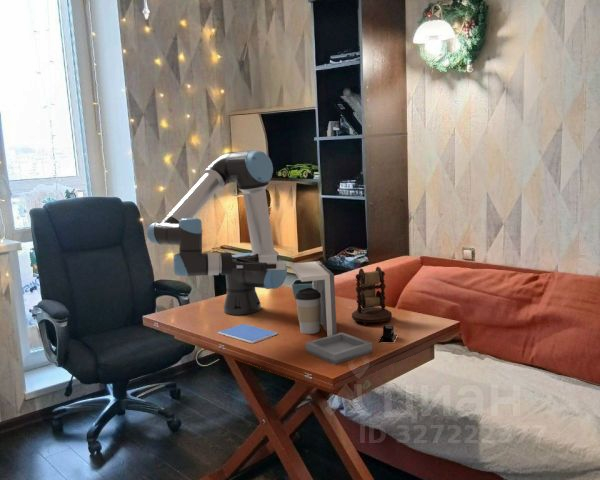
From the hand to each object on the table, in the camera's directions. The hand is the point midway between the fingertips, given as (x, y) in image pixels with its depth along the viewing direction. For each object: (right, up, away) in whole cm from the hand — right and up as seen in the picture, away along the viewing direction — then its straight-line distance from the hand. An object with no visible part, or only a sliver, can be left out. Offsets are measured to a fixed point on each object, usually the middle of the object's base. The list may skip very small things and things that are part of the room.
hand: (280, 262), depth 205 cm
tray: (+19, -28, -19) cm, 39 cm away
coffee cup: (+10, -25, +4) cm, 27 cm away
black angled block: (+37, -26, -8) cm, 45 cm away
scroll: (+33, -22, +13) cm, 42 cm away
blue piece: (-12, -27, +5) cm, 30 cm away
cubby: (+12, -24, +4) cm, 28 cm away
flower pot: (+9, -19, +43) cm, 48 cm away
